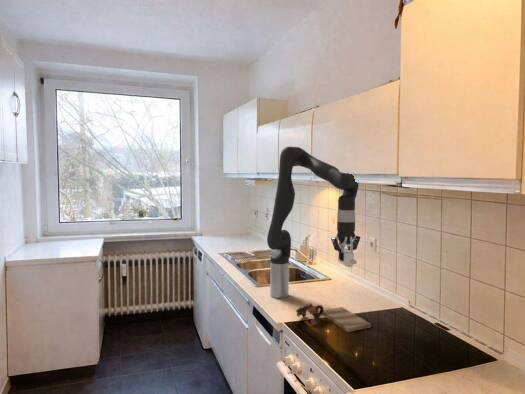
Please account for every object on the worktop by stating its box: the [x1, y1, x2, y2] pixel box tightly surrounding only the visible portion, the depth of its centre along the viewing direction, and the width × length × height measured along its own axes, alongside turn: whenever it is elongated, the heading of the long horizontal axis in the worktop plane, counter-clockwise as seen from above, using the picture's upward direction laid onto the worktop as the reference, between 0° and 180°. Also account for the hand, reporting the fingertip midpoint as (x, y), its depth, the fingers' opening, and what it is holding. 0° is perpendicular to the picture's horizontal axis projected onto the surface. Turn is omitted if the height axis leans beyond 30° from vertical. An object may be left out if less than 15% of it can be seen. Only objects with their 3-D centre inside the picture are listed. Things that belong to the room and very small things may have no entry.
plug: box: [337, 247, 358, 268], centre depth 160 cm, size 11×4×6 cm, turn 23°
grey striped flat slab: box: [321, 306, 372, 333], centre depth 160 cm, size 20×11×2 cm, turn 23°
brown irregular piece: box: [295, 303, 325, 326], centre depth 160 cm, size 12×10×8 cm
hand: (345, 259), depth 162 cm, fingers closed on plug, 3 cm apart
